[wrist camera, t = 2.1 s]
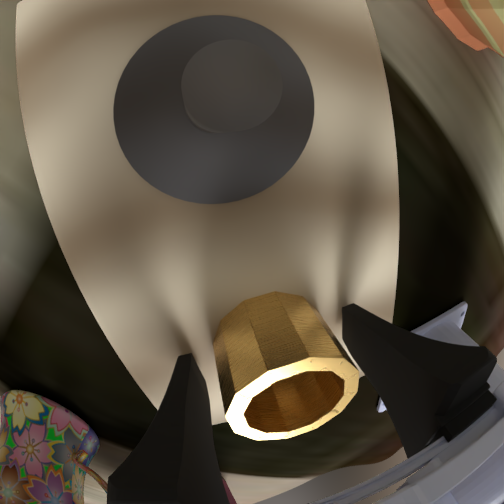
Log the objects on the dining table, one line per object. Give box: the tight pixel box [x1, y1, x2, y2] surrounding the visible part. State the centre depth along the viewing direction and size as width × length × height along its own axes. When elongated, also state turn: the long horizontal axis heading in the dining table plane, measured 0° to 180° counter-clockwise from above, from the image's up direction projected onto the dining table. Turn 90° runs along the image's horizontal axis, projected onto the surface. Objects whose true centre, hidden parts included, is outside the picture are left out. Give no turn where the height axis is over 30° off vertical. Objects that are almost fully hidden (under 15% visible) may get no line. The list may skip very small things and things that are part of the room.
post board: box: [16, 0, 399, 425], centre depth 9 cm, size 24×14×5 cm, turn 12°
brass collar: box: [213, 291, 360, 440], centre depth 11 cm, size 5×5×4 cm
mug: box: [0, 390, 107, 504], centre depth 10 cm, size 12×9×11 cm
